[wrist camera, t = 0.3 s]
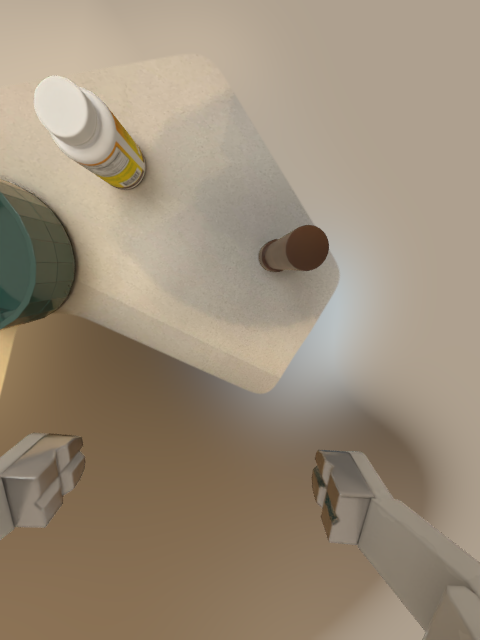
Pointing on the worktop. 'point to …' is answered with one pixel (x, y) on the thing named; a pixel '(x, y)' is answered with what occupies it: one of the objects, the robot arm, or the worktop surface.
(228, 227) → the worktop surface
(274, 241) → the brown flanged cylinder
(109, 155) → the supplement bottle
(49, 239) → the bowl
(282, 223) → the worktop surface
